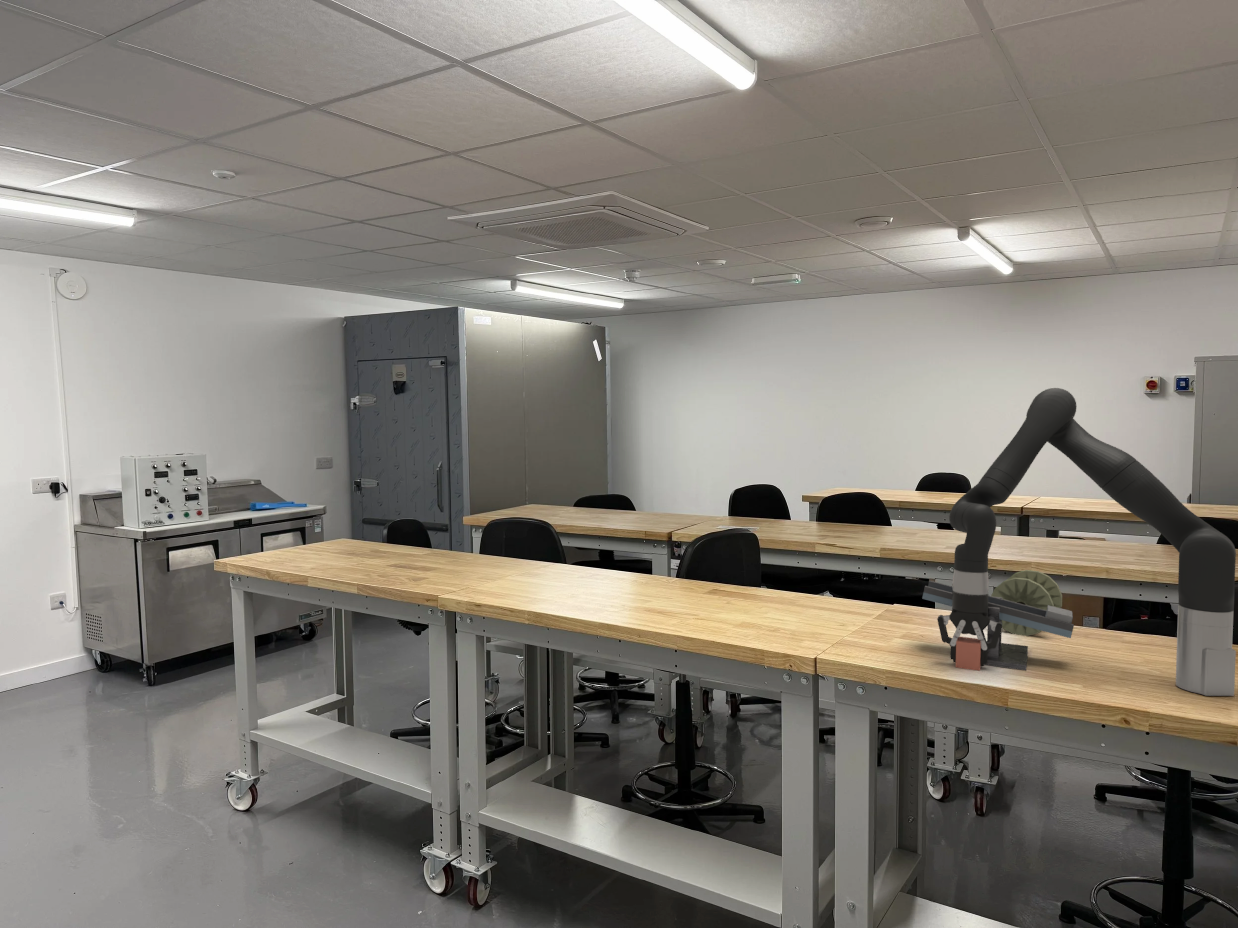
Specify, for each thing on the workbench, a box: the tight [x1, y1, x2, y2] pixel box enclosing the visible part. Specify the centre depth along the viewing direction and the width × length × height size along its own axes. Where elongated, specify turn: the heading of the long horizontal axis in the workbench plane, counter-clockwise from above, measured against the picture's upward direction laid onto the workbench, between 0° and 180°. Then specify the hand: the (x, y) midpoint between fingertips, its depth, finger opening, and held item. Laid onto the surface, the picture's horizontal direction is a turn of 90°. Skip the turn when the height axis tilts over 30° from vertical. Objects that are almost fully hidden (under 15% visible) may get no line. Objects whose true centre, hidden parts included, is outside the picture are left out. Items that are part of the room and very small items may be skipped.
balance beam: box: [921, 580, 1075, 639], centre depth 185 cm, size 32×11×5 cm, turn 61°
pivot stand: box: [984, 597, 1029, 671], centre depth 185 cm, size 14×18×13 cm
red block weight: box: [955, 635, 982, 671], centre depth 177 cm, size 5×5×6 cm
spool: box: [990, 569, 1063, 637], centre depth 212 cm, size 16×15×15 cm
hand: (968, 662), depth 177 cm, fingers closed on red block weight, 5 cm apart
